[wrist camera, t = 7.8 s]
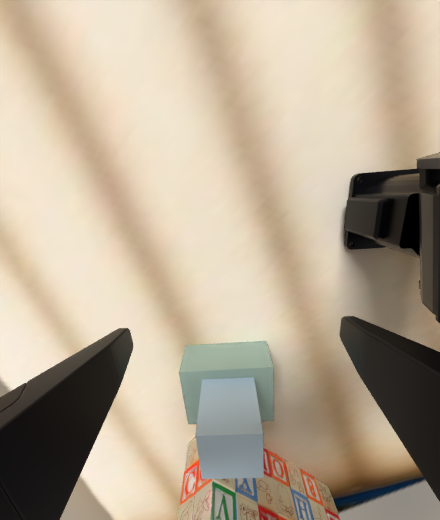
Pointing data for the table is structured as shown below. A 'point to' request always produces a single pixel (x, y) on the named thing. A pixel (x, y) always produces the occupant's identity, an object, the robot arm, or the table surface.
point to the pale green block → (227, 372)
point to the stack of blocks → (254, 494)
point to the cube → (229, 429)
